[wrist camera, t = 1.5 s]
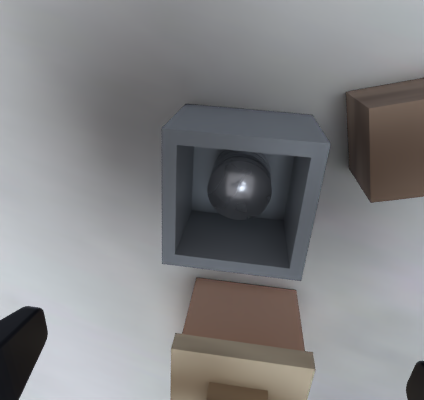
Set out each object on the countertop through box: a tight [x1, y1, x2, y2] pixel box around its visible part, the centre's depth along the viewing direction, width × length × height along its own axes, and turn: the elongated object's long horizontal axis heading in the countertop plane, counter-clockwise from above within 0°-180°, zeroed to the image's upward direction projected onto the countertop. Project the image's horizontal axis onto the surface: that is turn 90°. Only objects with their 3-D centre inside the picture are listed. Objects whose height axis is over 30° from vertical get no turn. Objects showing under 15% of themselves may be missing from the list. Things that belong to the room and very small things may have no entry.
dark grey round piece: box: [207, 150, 272, 220], centre depth 18 cm, size 3×3×2 cm
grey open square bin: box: [162, 104, 331, 281], centre depth 17 cm, size 6×6×5 cm
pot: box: [182, 278, 305, 351], centre depth 22 cm, size 6×6×5 cm
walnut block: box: [346, 78, 424, 203], centre depth 15 cm, size 4×4×4 cm
